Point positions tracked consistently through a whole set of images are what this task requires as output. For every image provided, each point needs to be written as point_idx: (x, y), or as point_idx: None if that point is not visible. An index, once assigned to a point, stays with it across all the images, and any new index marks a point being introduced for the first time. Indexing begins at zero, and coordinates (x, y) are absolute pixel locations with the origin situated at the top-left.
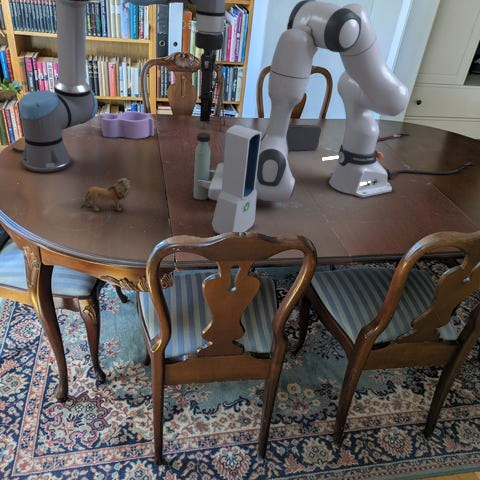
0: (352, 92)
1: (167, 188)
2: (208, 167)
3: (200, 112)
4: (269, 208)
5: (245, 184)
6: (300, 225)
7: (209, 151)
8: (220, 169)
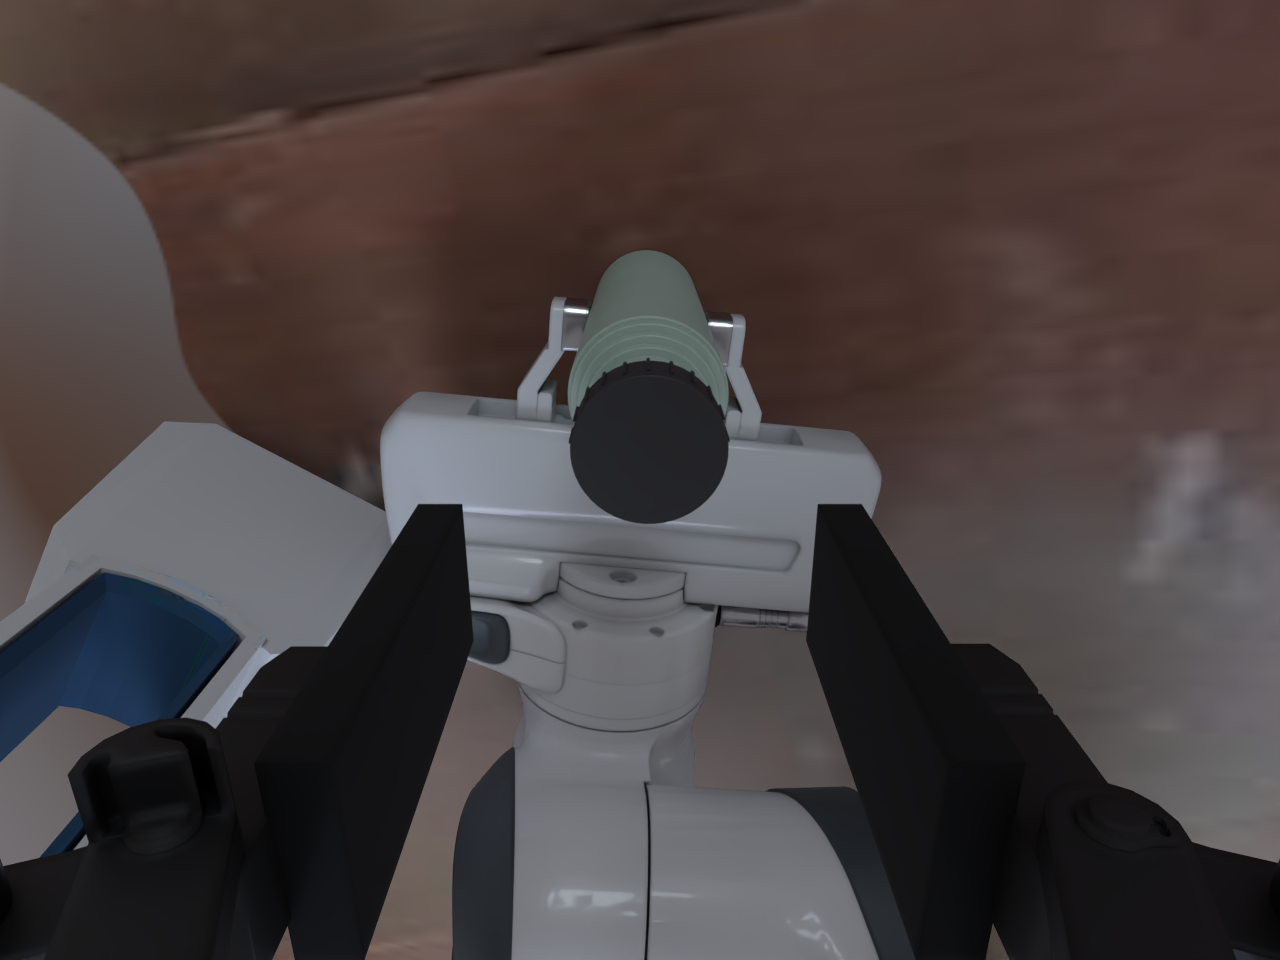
0: None
1: (731, 30)
2: None
3: (373, 577)
4: None
5: None
6: (432, 822)
7: None
8: (738, 481)
